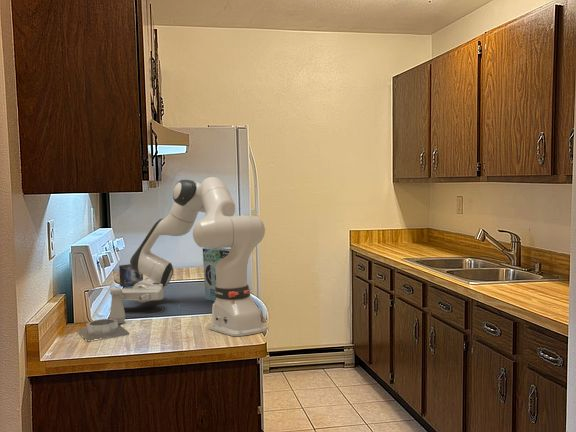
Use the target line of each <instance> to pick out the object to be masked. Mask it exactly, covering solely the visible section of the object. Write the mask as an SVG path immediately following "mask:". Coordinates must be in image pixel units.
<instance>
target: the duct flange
mask: <svg viewBox="0 0 576 432" xmlns="http://www.w3.org/2000/svg"><path fill="white" fill-rule="evenodd" d="M85 325H86V326H85V327H84V328H77V329H76V331H77V330H78V332H79V333H80V334H81V335H82V336H83V337H84V338H85V339H86V340H87V341H88V340H94V339H100V338H107V337H113V338H118V337H123V336H128V335H130V332H129V331H128V330H127V329H126V328H124V327H123V326H122V325H120V324H118V322H117V320H116V319H110V318H101V319H94V320H92V321H88V322H87V323H86V324H85ZM78 332H77V333H78ZM79 333H78V334H79ZM80 334H79V335H80ZM81 335H80V336H81ZM107 339H108V338H107Z"/></svg>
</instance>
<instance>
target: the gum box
mask: <svg viewBox="0 0 576 432" xmlns="http://www.w3.org/2000/svg"><path fill="white" fill-rule="evenodd" d="M201 248H202V262H203V275H204V276H203V277H204V280H203V281H204V295H205V298H204V299H205V300H207V301H211V302H215V300H216V296H215V287H216V270H215V268H216V265H217V263H218V262H219V261H220V260H221V259H223V258H224V257H226V256H227V255H228V254H229V252H230V250H231V248H215V249H211V248H203V247H201Z"/></svg>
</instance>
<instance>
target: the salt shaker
mask: <svg viewBox="0 0 576 432" xmlns="http://www.w3.org/2000/svg"><path fill="white" fill-rule="evenodd" d="M122 289H123V288H121V287H113V288H111V289H110V293H109V294H110V295H111V300H110V301H111V302H110V311H109V318H108V319H116V320H117V322H118V324H119V325H120V324H124V322H125V319H126V310H125V307H124V303H123V300H122V298H121V294H122Z"/></svg>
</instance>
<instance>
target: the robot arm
mask: <svg viewBox="0 0 576 432" xmlns="http://www.w3.org/2000/svg"><path fill="white" fill-rule="evenodd" d="M172 199H173V201H174V202H173V203H172V204H173V205H172V206H171V208H170V211H169V212H168V214H167V215H166V217H164V218H159V219H158V220H157V221H156V222H155V223H154V224H153V226H152V227H151V228H150V230H149V231H148V233H147V235H146V236H145V238H144V239H143V241H142V242H141V244H140V245H139V246H138V248H137V249H136V250H135V252H134V253H133V254H132V256H131V258H130V261H129V264H131V267H132V269H133V270H134V271H136V272H139V273H142V274H143V276H146V277H147V278H144V279H143V280H142V281H140V282H138V283H136V284H135V285H134V286H132V288H121V289H122V294H121V298H122V301H135V302H138V303H142V304H143V303H147V302H151V301H162V300H163V299H164V294H165V293H164V290H165V288H166V286H168V284H169V283H170V281H171V280H172V278H173V275H174V266H173V264H172V263H171V262H170V261H168V260H166V259H164V258H162V257H160V256H158V255H156V254H155V253H153V252H152V251H151V250H152V248H153V246H154V244H155V243H156V241H157V240H158V238H159V237H160V236H171V237H181V236H185V235H186V234H189V232H190V231H191V230H192V238H193V240H194V242H195V244H196V245H197V246H198V247H199V248H211V249H215V248H225V249H228V248H230V249H231V250H230V252H229V254H228V255H227V256H226V257H224V258H223V259H221V260H220V261H219V262H218V263H217V265H216V268H215V270H216V287H215V296H216V300H215V301H213V303H212V308H211V311H212V312H211V324H209V325H208V330H211V331H215V332H217V333H221V334H225V335H227V336H231V337H243V336H248V335H255V334H260V333H263V332H266V331H268V330H269V326H268V325H267V324H266V323H264V322H263V321H262V317H261V316H262V308H260V307H257V306H256V303H255V302H254V300H253V299H252V297H251V289H250V287H249V286H250V285H249V284H248V263H249V258H250V257H251V254H252V253H253V250H254V249H255V248H256V247H257V245H259V244H260V243H261V242H262V241H263V239H264V237H265V235H266V234H265V233H266V228H265V224H264V221H262V219H261V218H260V217H258V216H253V215H247V214H246V215H245V214H244V215H235V213H236V205H235V202H234V200H233V197H232V195H231V193H230V191H229V189H228V187H227V186H226V184H225V183H224V182H223V181H222V180H221V178H219V177H216V176H210V177H206V178H204V180H203V181H202V182H197V181H194V180H191V179H181V180H179V181H177V183H176V184H175V186H174V188H173V190H172ZM199 212H201V213H205V215H204V216H203V217H202V218H201V219H199V220H197V221H196V219H197V217H198V213H199Z"/></svg>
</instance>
